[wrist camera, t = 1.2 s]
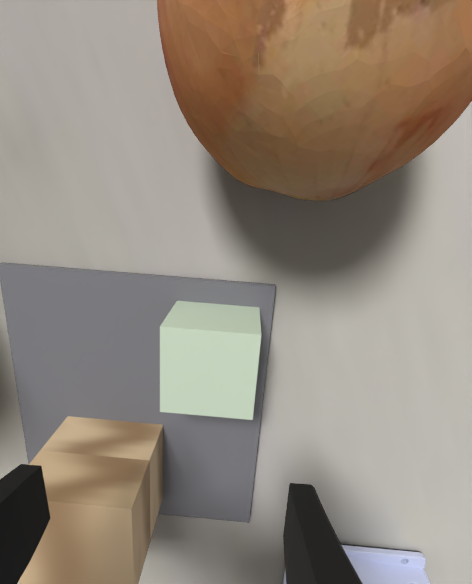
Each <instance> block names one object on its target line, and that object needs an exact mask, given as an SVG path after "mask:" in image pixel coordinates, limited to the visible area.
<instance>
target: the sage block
mask: <svg viewBox="0 0 472 584" xmlns="http://www.w3.org/2000/svg"><path fill="white" fill-rule="evenodd" d="M260 344H261V322H260V309H259V307H248V306H236V305H224V304H211V303H199V302H187V301H176V303H175V304H174V306H173V307H172V309H171V310H170V312H169V313H168V315H167V316H166V318H165V320H164V321H163V323H162V324H161V326H160V412H167V413H179V414H190V415H201V416H213V417H224V418H235V419H247V420H253V412H254V402H255V392H256V383H257V373H258V363H259V354H260Z"/></svg>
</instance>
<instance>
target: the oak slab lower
mask: <svg viewBox="0 0 472 584" xmlns="http://www.w3.org/2000/svg"><path fill="white" fill-rule="evenodd" d="M41 451H52V452H63V453H74V454H85V455H96V456H107V457H117V458H128V459H139V460H150V536H151V537H152V534H153V530H154V527H155V523H156V520H157V516H158V512H159V509H160V505H161V502H162V498H163V425H161V424H149V423H138V422H127V421H116V420H104V419H93V418H82V417H71V416H68V417H67V418H66V419H65V420H64V421H63V423H62V424H61V425H60V426H59V428H58V429H57V430H56V431H55V433H54V434H53V435H52V436H51V438H50V439H49V440H48V441H47V443H46V444H45V445H44V446H43V448H42V449H41Z"/></svg>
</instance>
